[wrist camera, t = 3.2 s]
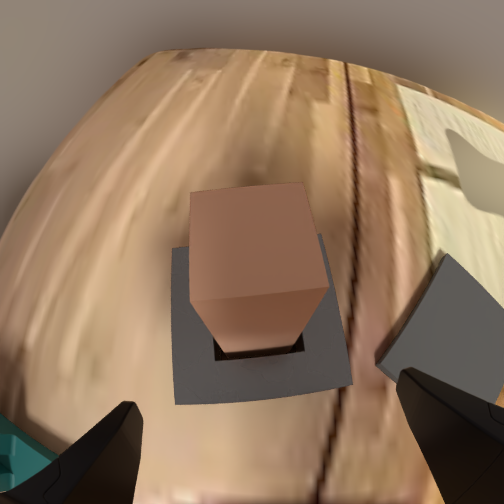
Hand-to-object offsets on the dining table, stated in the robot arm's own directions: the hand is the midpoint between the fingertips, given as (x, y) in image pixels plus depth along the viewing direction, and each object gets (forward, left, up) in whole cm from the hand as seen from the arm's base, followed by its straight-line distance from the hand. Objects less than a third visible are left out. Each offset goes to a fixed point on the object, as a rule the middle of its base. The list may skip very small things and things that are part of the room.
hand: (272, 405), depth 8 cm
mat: (+14, -11, -12) cm, 21 cm away
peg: (+4, +4, -12) cm, 13 cm away
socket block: (+4, +4, -12) cm, 13 cm away
